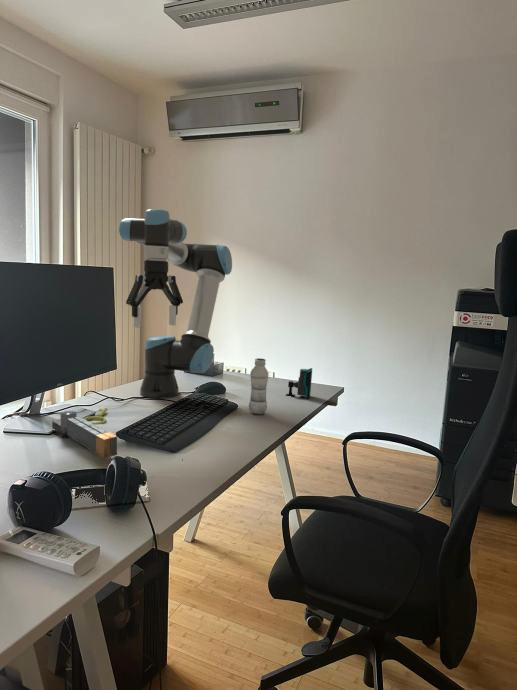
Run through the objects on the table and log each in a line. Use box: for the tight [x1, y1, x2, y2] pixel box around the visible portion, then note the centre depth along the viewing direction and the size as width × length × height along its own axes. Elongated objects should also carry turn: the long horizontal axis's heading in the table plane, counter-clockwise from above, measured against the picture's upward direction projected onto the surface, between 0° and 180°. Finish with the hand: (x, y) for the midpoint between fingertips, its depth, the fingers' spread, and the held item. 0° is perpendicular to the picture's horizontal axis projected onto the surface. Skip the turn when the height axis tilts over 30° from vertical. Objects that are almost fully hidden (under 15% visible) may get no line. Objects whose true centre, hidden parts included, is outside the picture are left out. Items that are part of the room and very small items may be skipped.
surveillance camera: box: [285, 367, 313, 399], centre depth 196 cm, size 6×12×10 cm
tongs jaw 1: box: [67, 418, 111, 459], centre depth 131 cm, size 21×2×5 cm, turn 47°
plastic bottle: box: [248, 357, 270, 415], centre depth 171 cm, size 6×7×20 cm
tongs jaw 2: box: [74, 416, 118, 457], centre depth 132 cm, size 21×2×5 cm, turn 47°
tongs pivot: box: [51, 410, 78, 439], centre depth 143 cm, size 10×4×7 cm, turn 47°
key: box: [83, 407, 108, 425], centre depth 158 cm, size 7×12×2 cm, turn 15°
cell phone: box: [72, 482, 150, 504], centre depth 107 cm, size 9×18×1 cm, turn 108°
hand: (155, 326), depth 154 cm, fingers open, 13 cm apart
